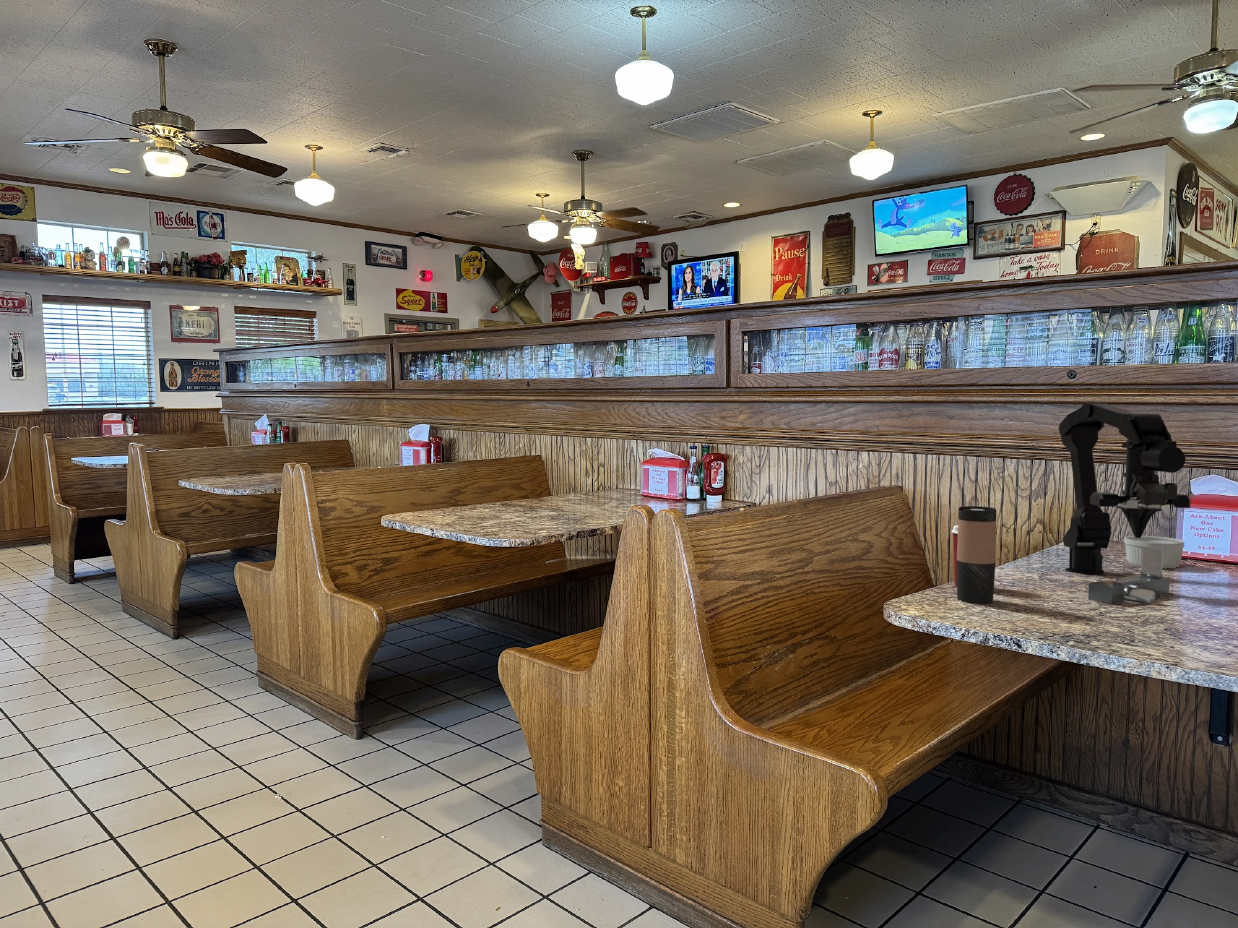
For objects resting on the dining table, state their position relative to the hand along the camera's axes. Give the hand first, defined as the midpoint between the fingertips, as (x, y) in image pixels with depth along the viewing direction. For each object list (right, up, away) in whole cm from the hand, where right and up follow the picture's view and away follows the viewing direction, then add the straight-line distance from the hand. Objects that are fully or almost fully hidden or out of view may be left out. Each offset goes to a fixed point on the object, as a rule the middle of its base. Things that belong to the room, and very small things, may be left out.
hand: (1137, 537), depth 184 cm
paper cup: (-37, -12, +5) cm, 39 cm away
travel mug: (-41, -13, -9) cm, 44 cm away
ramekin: (+23, -10, +29) cm, 39 cm away
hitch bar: (-6, -12, -6) cm, 15 cm away
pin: (-8, -13, -8) cm, 17 cm away
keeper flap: (+1, -8, -3) cm, 9 cm away
